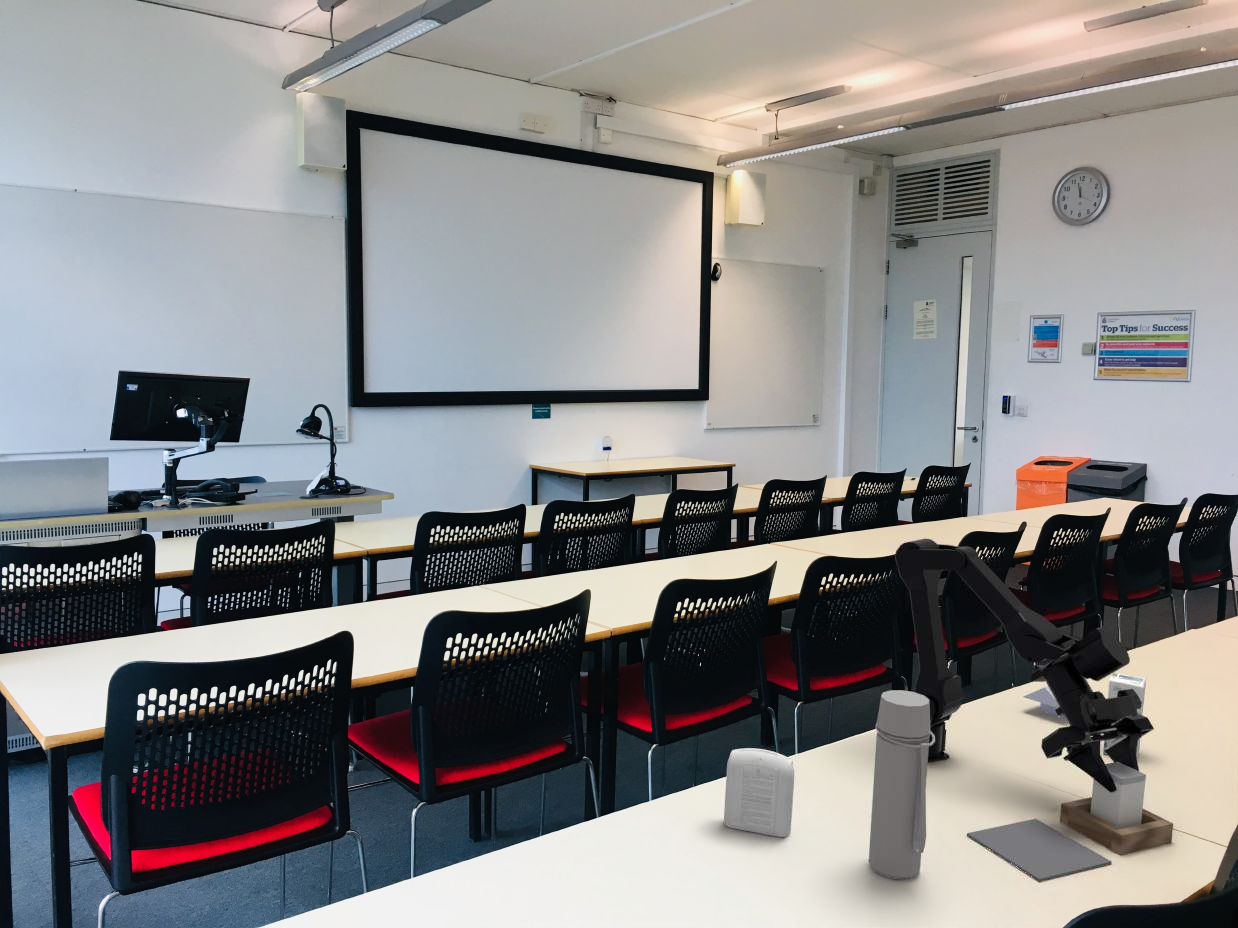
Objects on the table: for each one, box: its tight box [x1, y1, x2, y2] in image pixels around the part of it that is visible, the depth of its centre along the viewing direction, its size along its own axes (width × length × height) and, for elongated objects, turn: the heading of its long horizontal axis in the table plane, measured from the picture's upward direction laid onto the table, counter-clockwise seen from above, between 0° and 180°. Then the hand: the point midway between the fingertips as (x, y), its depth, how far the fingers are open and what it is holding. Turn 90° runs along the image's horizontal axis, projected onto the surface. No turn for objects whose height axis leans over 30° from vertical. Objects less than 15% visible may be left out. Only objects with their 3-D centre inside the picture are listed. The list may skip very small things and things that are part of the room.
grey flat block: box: [723, 747, 795, 838], centre depth 149 cm, size 10×4×12 cm, turn 72°
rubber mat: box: [966, 818, 1112, 882], centre depth 146 cm, size 14×14×1 cm
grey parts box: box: [1090, 761, 1147, 829], centre depth 152 cm, size 5×5×9 cm
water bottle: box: [868, 689, 935, 880], centre depth 137 cm, size 9×8×25 cm
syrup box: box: [1102, 672, 1147, 758], centre depth 183 cm, size 6×6×14 cm
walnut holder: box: [1059, 796, 1174, 855], centre depth 152 cm, size 11×11×3 cm
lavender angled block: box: [1022, 685, 1066, 719], centre depth 204 cm, size 9×7×13 cm
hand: (1126, 788), depth 150 cm, fingers closed on grey parts box, 5 cm apart
